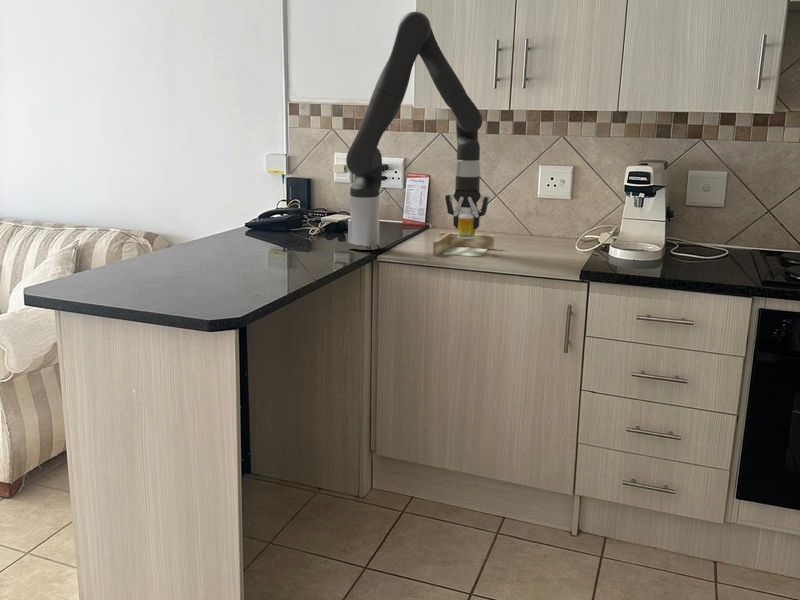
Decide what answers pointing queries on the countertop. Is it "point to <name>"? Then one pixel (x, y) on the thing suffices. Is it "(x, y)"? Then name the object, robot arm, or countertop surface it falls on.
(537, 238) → the countertop surface
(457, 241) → the corner arena
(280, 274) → the countertop surface
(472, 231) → the supplement bottle
